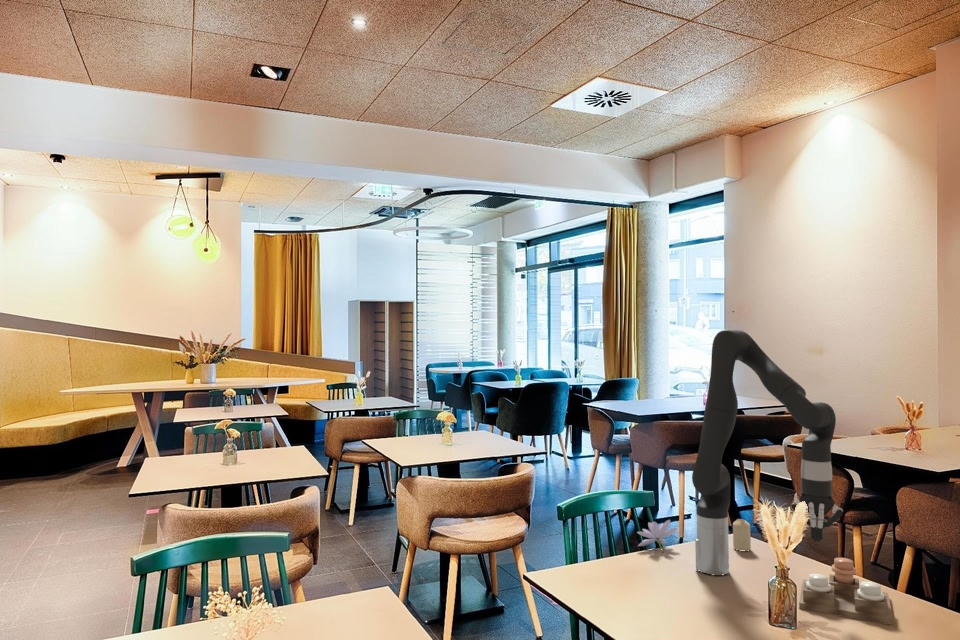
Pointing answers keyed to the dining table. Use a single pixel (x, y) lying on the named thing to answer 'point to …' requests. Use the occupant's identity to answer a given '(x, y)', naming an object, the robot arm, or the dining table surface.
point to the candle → (741, 535)
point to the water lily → (656, 533)
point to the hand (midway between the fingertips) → (817, 540)
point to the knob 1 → (818, 583)
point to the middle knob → (843, 570)
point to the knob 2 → (870, 591)
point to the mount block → (846, 602)
